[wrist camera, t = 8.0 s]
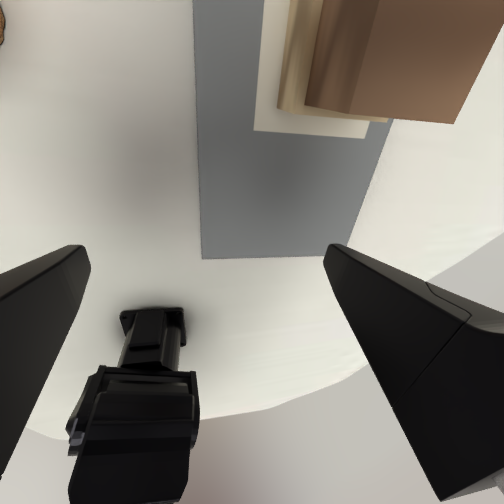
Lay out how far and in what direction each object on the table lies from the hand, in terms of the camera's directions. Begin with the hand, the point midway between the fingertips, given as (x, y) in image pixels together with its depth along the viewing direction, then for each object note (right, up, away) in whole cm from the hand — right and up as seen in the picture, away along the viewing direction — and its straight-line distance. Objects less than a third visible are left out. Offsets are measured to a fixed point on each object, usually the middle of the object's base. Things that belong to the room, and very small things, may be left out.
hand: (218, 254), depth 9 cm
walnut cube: (+7, +10, +3) cm, 13 cm away
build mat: (+5, +9, +10) cm, 14 cm away
